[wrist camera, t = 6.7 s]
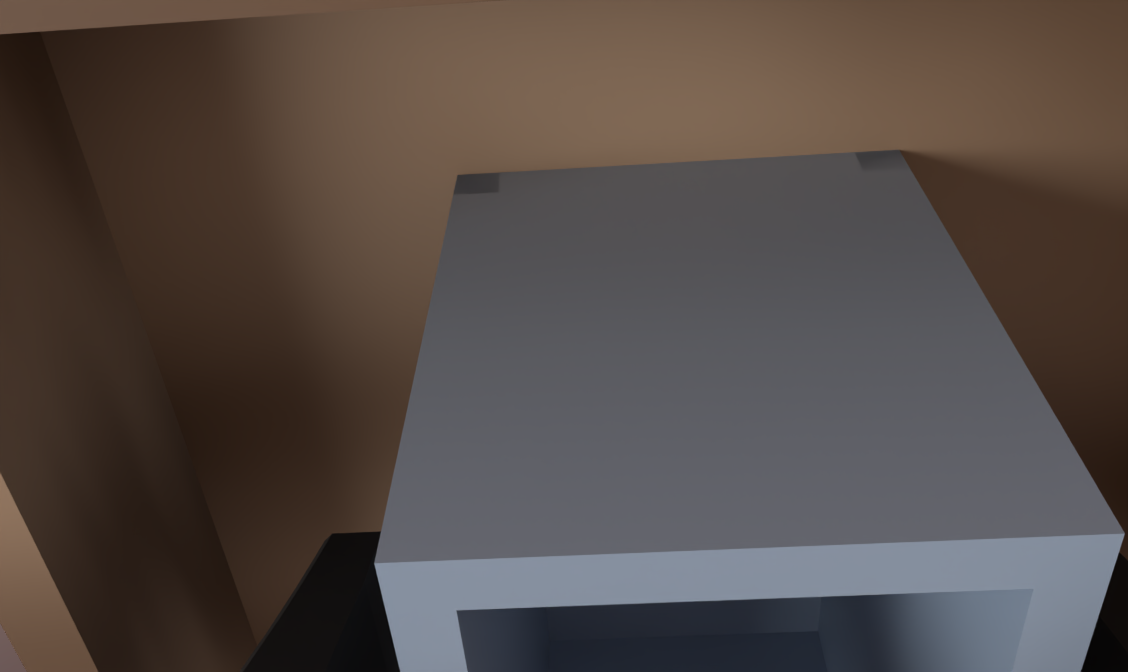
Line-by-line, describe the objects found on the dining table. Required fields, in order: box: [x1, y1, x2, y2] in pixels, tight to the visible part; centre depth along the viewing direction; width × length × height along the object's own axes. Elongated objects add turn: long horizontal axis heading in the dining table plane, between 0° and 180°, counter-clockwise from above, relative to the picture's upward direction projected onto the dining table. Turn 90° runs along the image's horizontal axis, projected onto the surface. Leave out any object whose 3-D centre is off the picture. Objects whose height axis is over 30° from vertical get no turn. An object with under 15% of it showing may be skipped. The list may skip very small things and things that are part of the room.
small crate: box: [374, 150, 1125, 672], centre depth 12 cm, size 8×5×6 cm, turn 4°
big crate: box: [0, 0, 1128, 672], centre depth 13 cm, size 16×15×4 cm
